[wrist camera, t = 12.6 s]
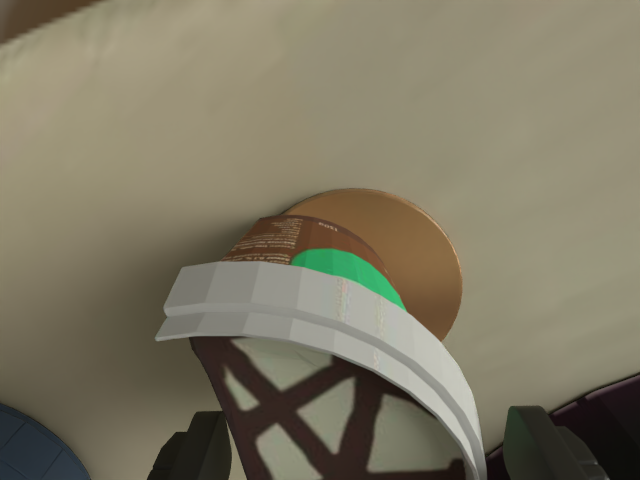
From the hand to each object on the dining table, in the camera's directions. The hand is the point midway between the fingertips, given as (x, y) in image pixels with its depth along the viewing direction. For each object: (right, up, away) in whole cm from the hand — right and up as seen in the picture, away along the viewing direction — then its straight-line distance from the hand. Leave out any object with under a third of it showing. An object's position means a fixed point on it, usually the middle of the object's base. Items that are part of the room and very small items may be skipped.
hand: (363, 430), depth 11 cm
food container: (0, +3, +7) cm, 8 cm away
